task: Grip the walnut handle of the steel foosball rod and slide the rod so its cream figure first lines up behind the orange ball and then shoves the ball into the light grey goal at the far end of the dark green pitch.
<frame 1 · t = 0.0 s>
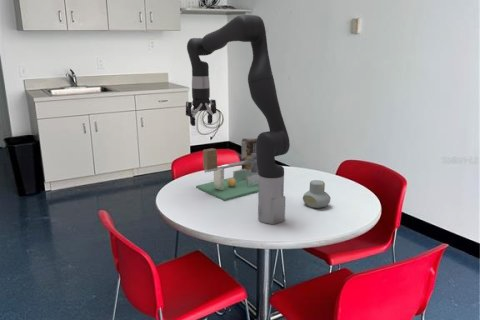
hand: (201, 124, 186), 29 cm above the table, tool pointing down, fingers open, 8 cm apart
foosball rod: (234, 165, 191), point 11 cm above the table, slide at 0.0 cm
coffee box: (250, 170, 222), on the table
rod support: (257, 182, 202), on the table
ball: (231, 182, 192), point 3 cm above the table, touching pitch
air freshener: (316, 206, 173), on the table
goal: (245, 185, 198), resting on pitch
pitch: (231, 188, 193), on the table
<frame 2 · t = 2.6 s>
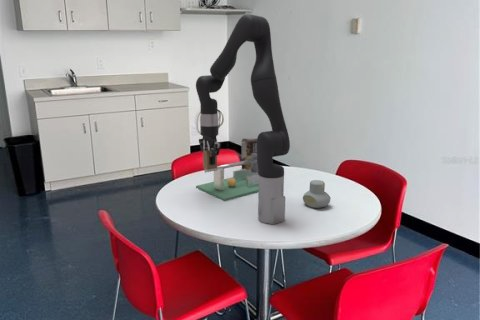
hand: (210, 163, 183), 14 cm above the table, tool pointing down, fingers closed on foosball rod, 3 cm apart
foosball rod: (234, 165, 191), point 11 cm above the table, slide at 0.0 cm, touching gripper
everything else where it was.
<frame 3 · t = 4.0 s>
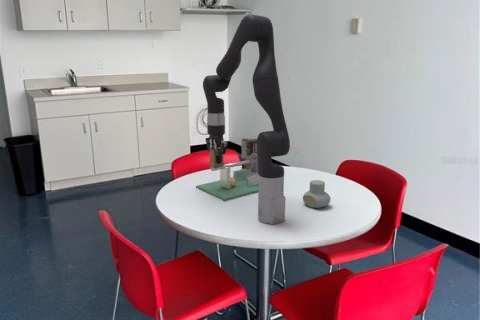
hand: (216, 162, 185), 14 cm above the table, tool pointing down, fingers closed on foosball rod, 3 cm apart
foosball rod: (240, 164, 193), point 11 cm above the table, slide at 3.4 cm, touching gripper
everything else where it was.
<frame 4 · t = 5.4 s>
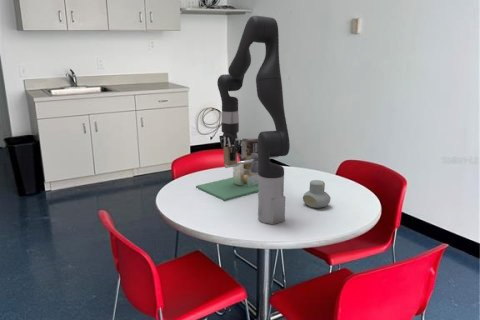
hand: (230, 159, 189), 14 cm above the table, tool pointing down, fingers closed on foosball rod, 3 cm apart
foosball rod: (252, 161, 198), point 11 cm above the table, slide at 10.8 cm, touching gripper
ball: (245, 178, 197), point 3 cm above the table, tilted 126°, touching pitch
everything else where it was.
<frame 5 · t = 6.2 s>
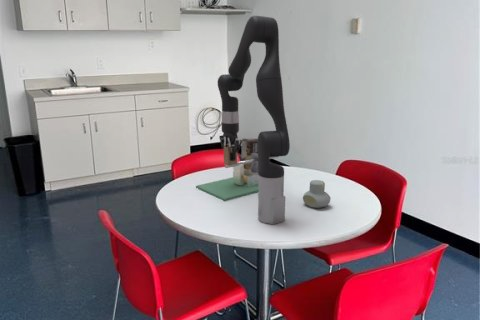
hand: (230, 159, 189), 14 cm above the table, tool pointing down, fingers closed on foosball rod, 3 cm apart
foosball rod: (252, 161, 198), point 11 cm above the table, slide at 10.9 cm, touching gripper
ball: (243, 179, 196), point 3 cm above the table, tilted 164°, touching pitch
everything else where it was.
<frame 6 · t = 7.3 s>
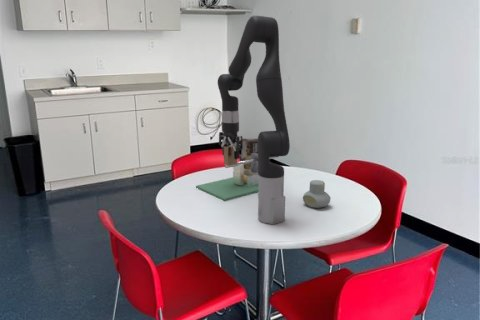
hand: (230, 157, 189), 15 cm above the table, tool pointing down, fingers open, 8 cm apart
foosball rod: (252, 161, 198), point 11 cm above the table, slide at 10.9 cm
ball: (244, 179, 197), point 3 cm above the table, tilted 153°, touching pitch
everything else where it was.
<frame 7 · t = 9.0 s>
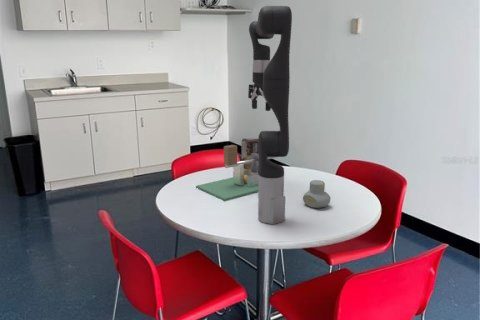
hand: (261, 109, 183), 36 cm above the table, tool pointing down, fingers open, 8 cm apart
ball: (245, 179, 197), point 3 cm above the table, tilted 136°, touching pitch
everything else where it was.
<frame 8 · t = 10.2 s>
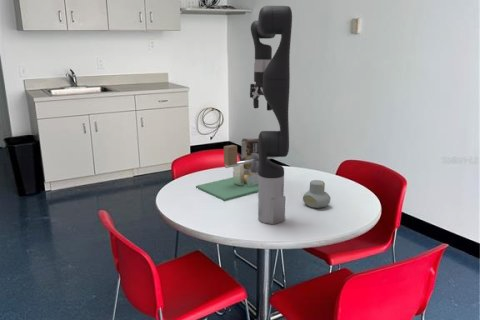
hand: (262, 109, 183), 36 cm above the table, tool pointing down, fingers open, 8 cm apart
ball: (246, 178, 197), point 3 cm above the table, tilted 124°, touching pitch
everything else where it was.
at the end: ball 0.2 cm from the target spot, point 3.0 cm above the table; foosball rod slide at 10.9 cm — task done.
